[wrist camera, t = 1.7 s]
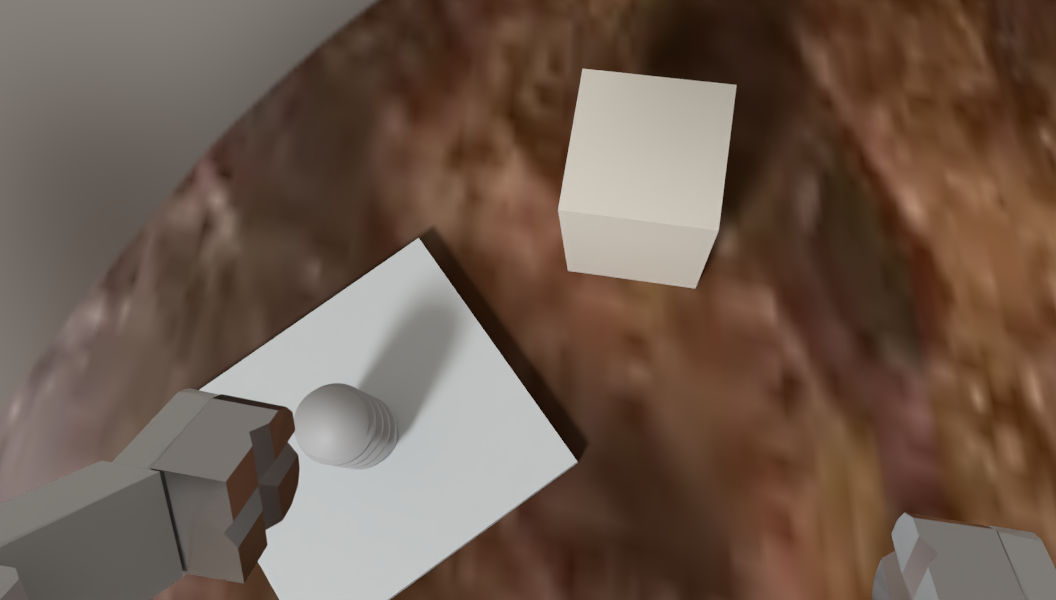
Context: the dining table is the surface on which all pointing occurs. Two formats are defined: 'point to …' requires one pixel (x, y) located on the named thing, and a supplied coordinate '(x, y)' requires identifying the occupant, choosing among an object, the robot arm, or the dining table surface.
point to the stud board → (393, 433)
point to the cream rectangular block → (645, 176)
